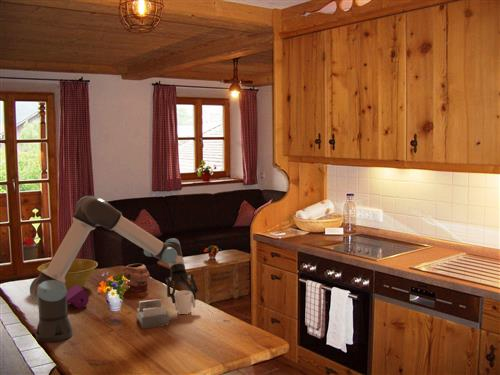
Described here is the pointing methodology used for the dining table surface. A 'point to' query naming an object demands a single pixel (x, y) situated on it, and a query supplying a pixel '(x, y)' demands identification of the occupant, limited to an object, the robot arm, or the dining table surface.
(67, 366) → the dining table surface
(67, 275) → the planter bowl
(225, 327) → the dining table surface
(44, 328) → the robot arm
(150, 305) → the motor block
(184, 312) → the white cup
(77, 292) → the purple elongated rounded piece
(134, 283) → the decorative planter
